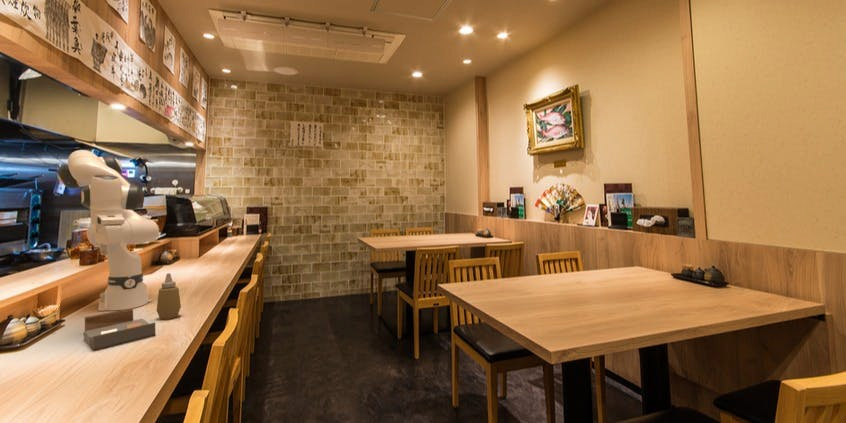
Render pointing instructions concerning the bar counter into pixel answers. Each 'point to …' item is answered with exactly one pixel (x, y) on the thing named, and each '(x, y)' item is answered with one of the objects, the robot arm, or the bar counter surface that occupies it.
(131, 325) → the tile terracotta
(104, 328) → the grey tray with lip
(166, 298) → the squeeze bottle
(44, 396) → the bar counter surface
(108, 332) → the tile cream
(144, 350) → the bar counter surface
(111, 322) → the long wooden plank
